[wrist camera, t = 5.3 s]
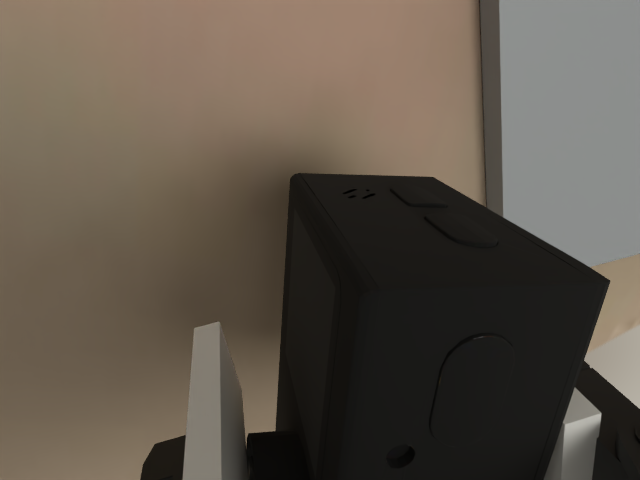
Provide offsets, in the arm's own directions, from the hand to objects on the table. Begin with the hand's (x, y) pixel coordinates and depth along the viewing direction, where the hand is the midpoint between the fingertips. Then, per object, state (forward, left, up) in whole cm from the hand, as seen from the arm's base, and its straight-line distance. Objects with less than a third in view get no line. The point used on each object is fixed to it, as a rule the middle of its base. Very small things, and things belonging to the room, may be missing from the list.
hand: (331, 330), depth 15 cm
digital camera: (0, 0, -1) cm, 1 cm away
